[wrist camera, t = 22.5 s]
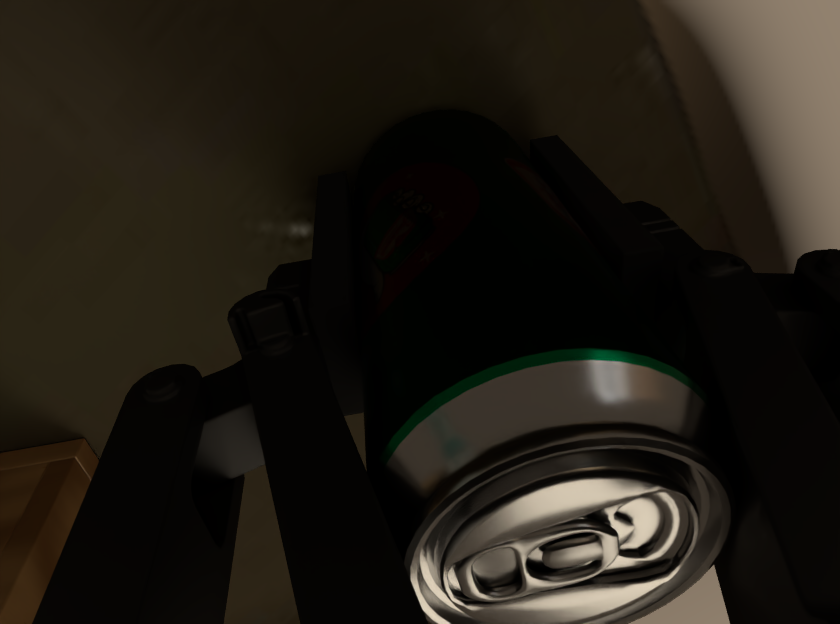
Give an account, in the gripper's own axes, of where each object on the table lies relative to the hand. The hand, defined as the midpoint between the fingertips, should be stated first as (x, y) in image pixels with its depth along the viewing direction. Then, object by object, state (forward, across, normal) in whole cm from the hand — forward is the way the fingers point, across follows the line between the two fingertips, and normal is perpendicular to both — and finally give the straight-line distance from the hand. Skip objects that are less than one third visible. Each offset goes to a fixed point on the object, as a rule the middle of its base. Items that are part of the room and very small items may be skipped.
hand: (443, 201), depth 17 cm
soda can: (+1, 0, 0) cm, 1 cm away
